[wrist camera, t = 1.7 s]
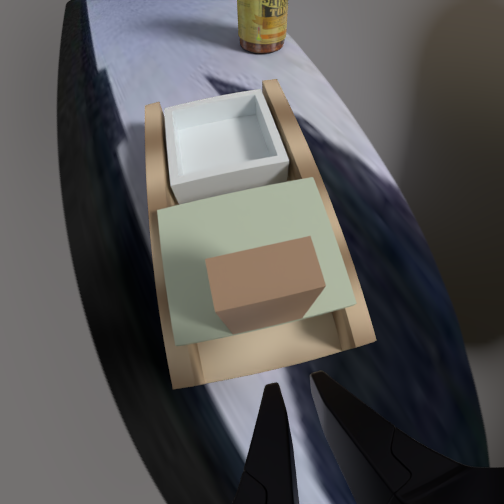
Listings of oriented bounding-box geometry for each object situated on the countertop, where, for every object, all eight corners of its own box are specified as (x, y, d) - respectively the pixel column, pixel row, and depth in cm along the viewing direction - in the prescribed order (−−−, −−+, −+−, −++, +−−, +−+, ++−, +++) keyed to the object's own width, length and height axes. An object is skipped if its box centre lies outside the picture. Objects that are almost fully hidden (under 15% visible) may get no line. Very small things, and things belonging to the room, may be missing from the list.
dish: (286, 184, 26) (289, 161, 23) (180, 207, 25) (170, 185, 22) (261, 112, 29) (260, 89, 26) (171, 131, 28) (164, 108, 26)
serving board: (365, 343, 22) (386, 337, 18) (179, 387, 21) (162, 390, 17) (282, 108, 30) (283, 78, 26) (149, 136, 29) (138, 107, 26)
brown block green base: (353, 305, 18) (405, 264, 11) (178, 346, 18) (125, 328, 11) (311, 181, 21) (329, 101, 14) (159, 214, 21) (118, 143, 14)
